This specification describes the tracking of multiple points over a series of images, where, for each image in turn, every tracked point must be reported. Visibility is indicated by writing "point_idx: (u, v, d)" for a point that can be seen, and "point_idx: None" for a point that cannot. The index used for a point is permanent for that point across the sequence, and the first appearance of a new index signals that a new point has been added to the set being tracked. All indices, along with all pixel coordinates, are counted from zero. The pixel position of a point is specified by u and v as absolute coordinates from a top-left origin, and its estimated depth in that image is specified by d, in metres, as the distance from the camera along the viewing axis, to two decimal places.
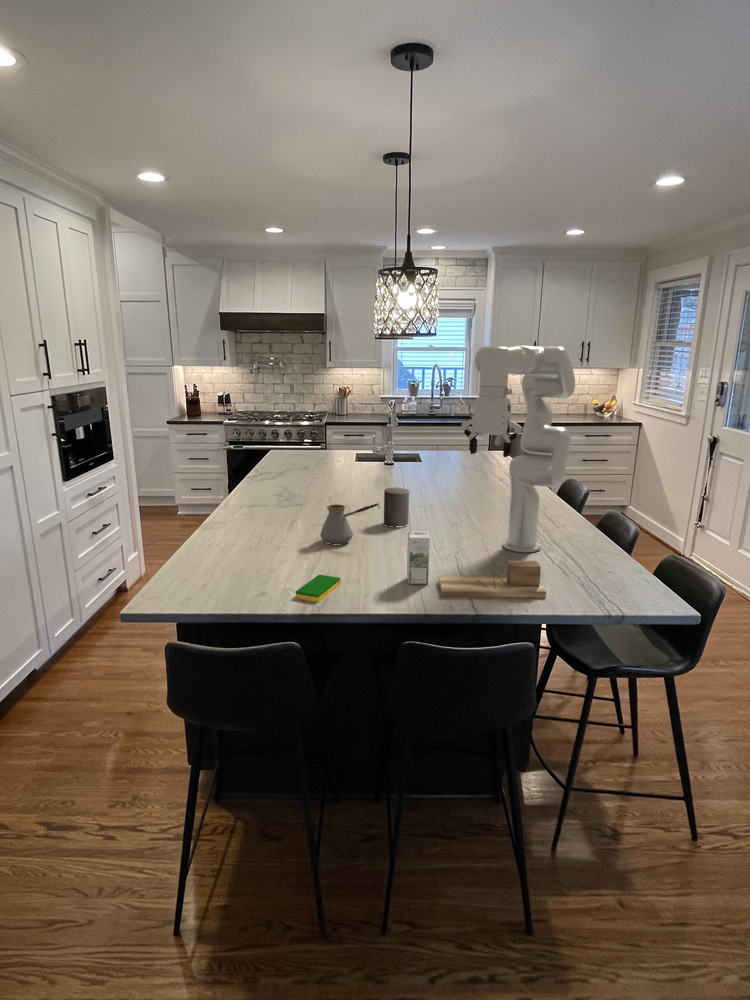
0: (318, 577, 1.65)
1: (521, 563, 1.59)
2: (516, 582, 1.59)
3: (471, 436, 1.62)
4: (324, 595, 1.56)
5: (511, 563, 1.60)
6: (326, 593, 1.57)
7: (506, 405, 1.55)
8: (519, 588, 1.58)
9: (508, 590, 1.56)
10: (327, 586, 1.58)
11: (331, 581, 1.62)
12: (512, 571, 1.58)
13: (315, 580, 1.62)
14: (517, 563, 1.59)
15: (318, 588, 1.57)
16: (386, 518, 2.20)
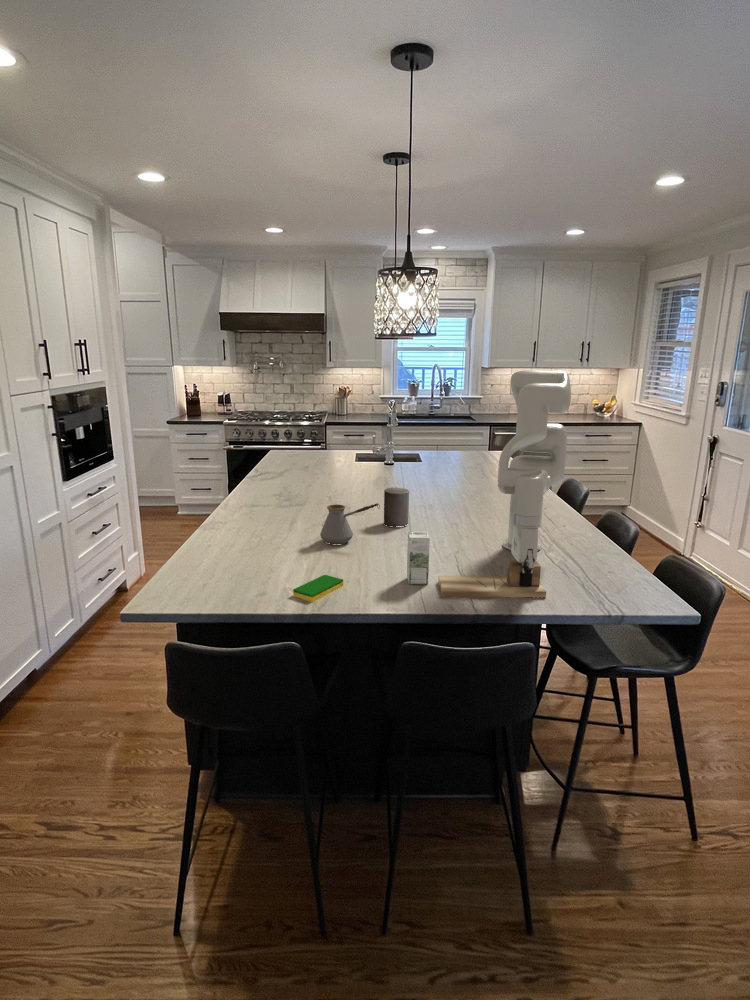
0: (322, 577, 1.65)
1: (521, 563, 1.59)
2: (516, 582, 1.59)
3: None
4: (320, 595, 1.56)
5: (511, 563, 1.60)
6: (323, 594, 1.56)
7: None
8: (519, 588, 1.58)
9: (508, 590, 1.56)
10: (325, 587, 1.58)
11: (332, 582, 1.61)
12: (512, 571, 1.58)
13: (317, 580, 1.63)
14: (517, 563, 1.59)
15: (316, 588, 1.57)
16: (386, 518, 2.20)
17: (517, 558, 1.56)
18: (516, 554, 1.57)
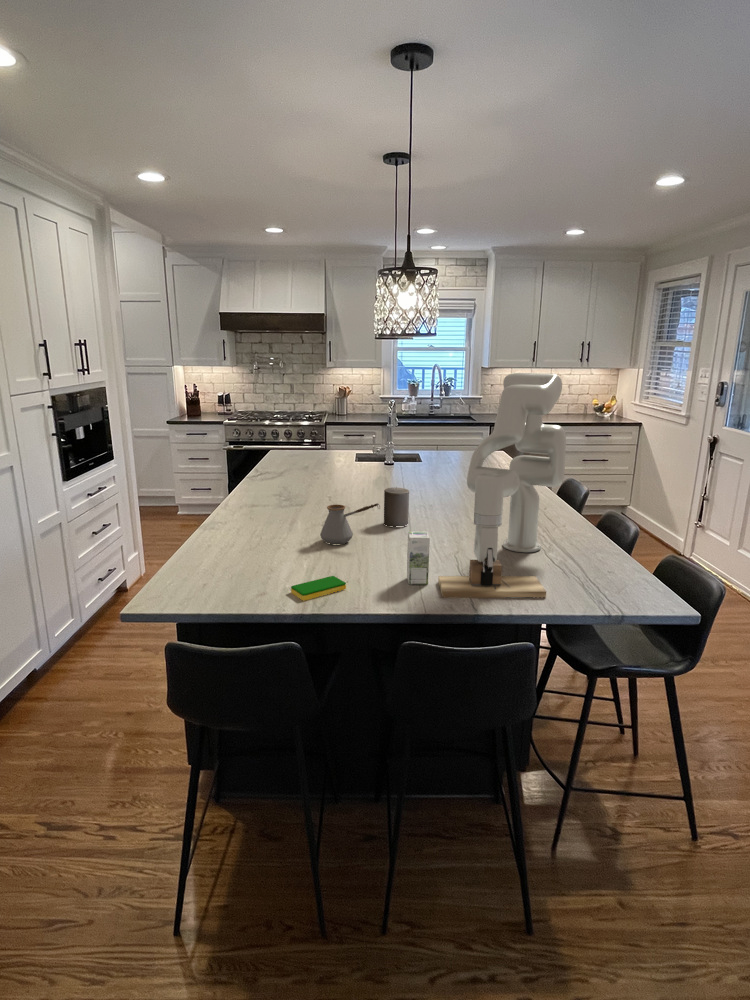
0: (327, 578, 1.64)
1: None
2: (477, 581, 1.59)
3: None
4: (314, 595, 1.56)
5: (472, 562, 1.60)
6: (318, 594, 1.56)
7: None
8: (519, 588, 1.58)
9: (508, 590, 1.56)
10: (322, 588, 1.57)
11: (332, 584, 1.60)
12: (473, 570, 1.58)
13: (320, 580, 1.63)
14: (479, 562, 1.60)
15: (312, 587, 1.57)
16: (386, 518, 2.20)
17: (477, 557, 1.56)
18: (477, 553, 1.57)
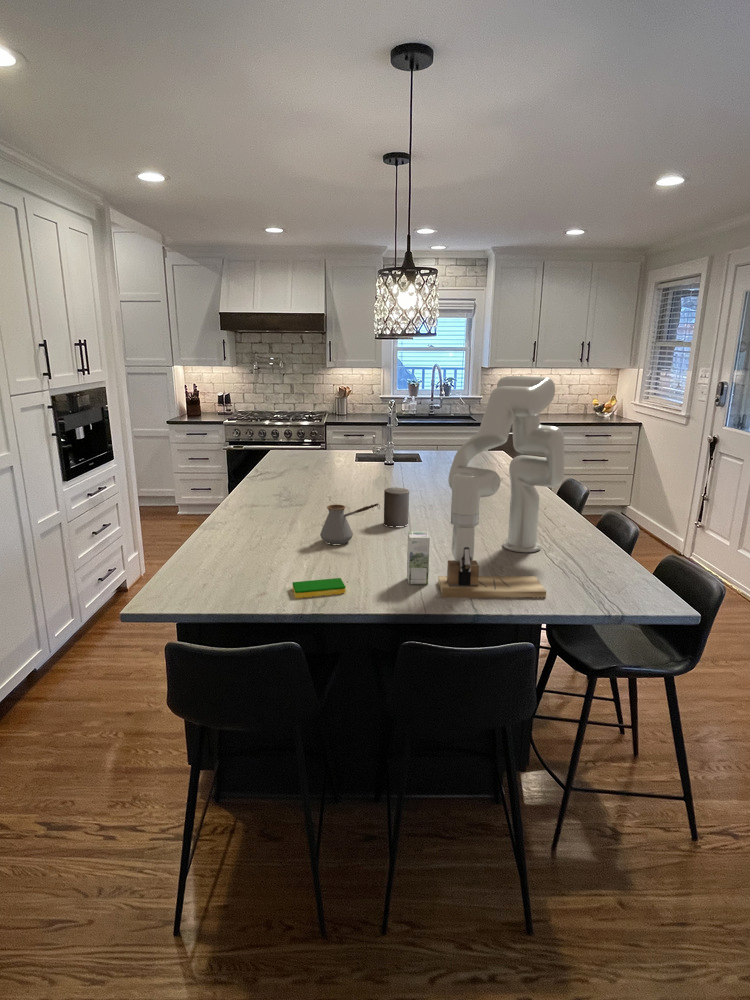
0: (333, 579, 1.63)
1: None
2: (455, 582, 1.59)
3: (469, 568, 1.56)
4: (308, 595, 1.56)
5: (450, 563, 1.60)
6: (312, 594, 1.56)
7: None
8: (519, 588, 1.58)
9: (508, 590, 1.56)
10: (318, 588, 1.57)
11: (331, 586, 1.58)
12: (450, 571, 1.58)
13: (324, 580, 1.62)
14: (456, 563, 1.60)
15: (309, 586, 1.58)
16: (386, 518, 2.20)
17: (454, 557, 1.56)
18: (454, 553, 1.57)
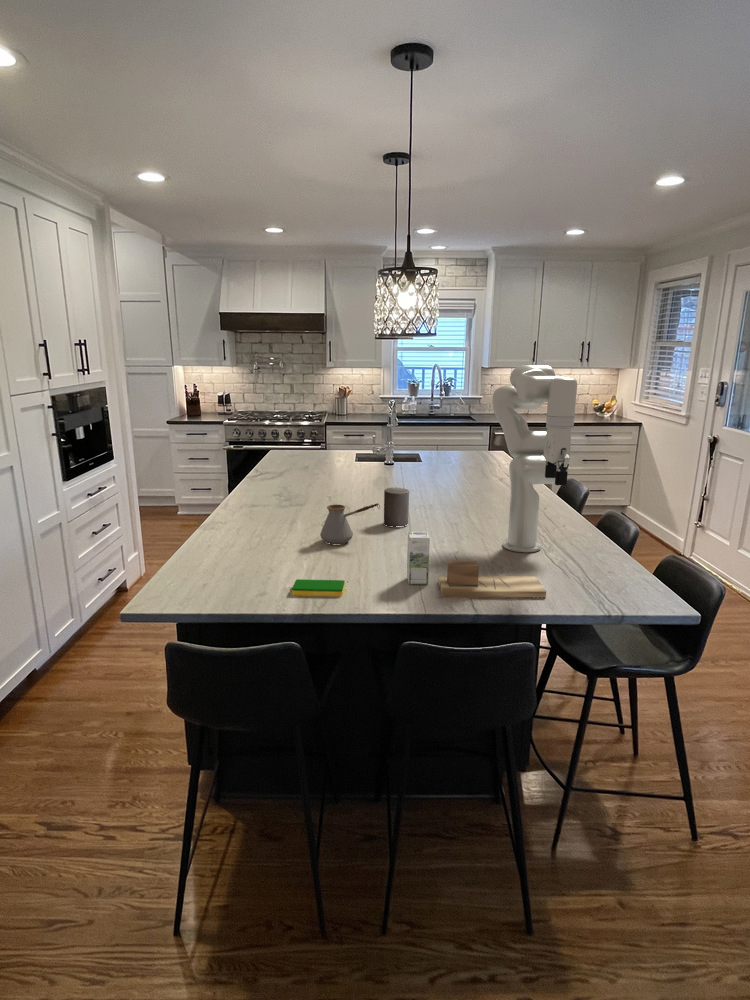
0: (335, 581, 1.62)
1: (460, 563, 1.59)
2: (455, 582, 1.59)
3: None
4: (304, 593, 1.57)
5: (450, 563, 1.60)
6: (308, 593, 1.57)
7: None
8: (519, 588, 1.58)
9: (508, 590, 1.56)
10: (315, 588, 1.57)
11: (328, 587, 1.58)
12: (450, 571, 1.58)
13: (326, 581, 1.62)
14: (456, 563, 1.60)
15: (308, 585, 1.59)
16: (386, 518, 2.20)
17: (550, 459, 1.62)
18: (549, 455, 1.63)
